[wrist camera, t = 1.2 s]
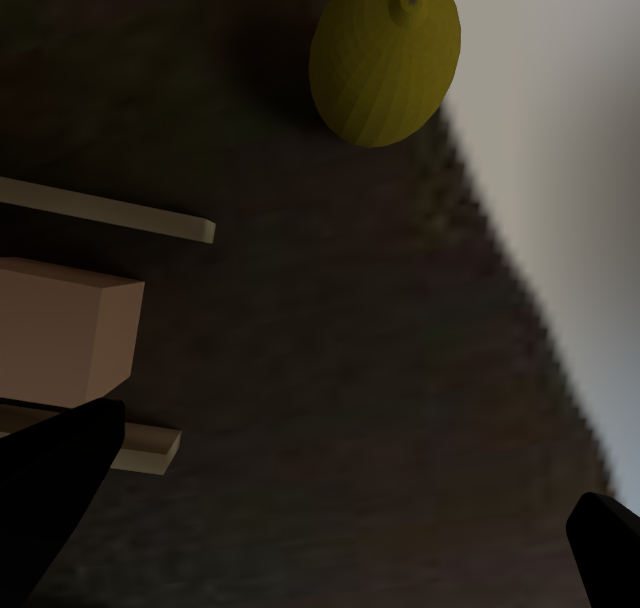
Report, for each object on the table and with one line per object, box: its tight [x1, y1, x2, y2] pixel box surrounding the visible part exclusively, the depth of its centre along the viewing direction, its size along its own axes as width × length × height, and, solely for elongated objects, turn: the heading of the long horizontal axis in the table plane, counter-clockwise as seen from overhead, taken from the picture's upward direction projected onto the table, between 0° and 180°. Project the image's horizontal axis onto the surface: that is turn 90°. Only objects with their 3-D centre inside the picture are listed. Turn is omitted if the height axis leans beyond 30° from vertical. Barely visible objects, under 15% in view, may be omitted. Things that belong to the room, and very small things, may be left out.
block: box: [0, 257, 145, 408], centre depth 17 cm, size 5×6×4 cm
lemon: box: [309, 0, 461, 147], centre depth 15 cm, size 6×6×8 cm
